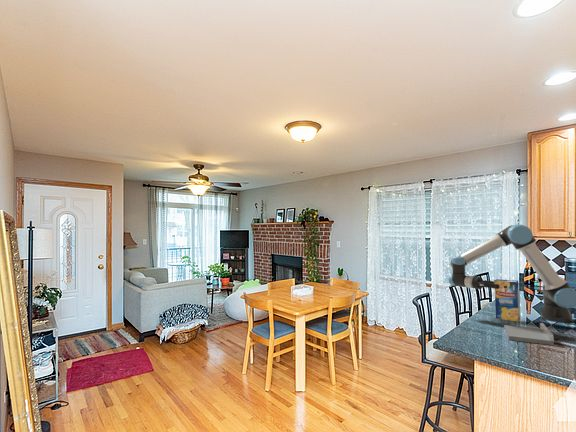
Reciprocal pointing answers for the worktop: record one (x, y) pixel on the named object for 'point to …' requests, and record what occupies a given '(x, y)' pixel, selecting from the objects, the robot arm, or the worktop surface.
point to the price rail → (546, 332)
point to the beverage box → (507, 300)
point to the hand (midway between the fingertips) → (516, 287)
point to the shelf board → (527, 335)
